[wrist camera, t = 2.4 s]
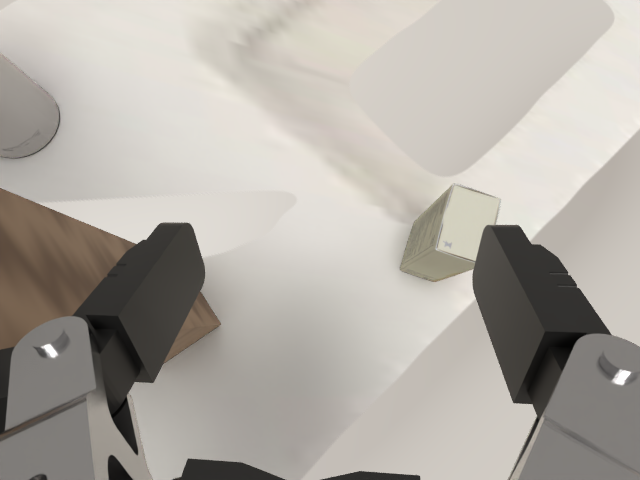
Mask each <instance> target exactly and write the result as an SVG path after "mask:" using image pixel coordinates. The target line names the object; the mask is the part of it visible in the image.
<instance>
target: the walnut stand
mask: <svg viewBox="0 0 640 480" xmlns="http://www.w3.org/2000/svg"><path fill="white" fill-rule="evenodd" d="M135 245H136V244H135V243H132V242H130V241H127V240H125V239H122V238H120V237H118V236H115V235H113V234H110V233H108V232H105V231H103V230H101V229H98V228H96V227H93V226H91V225H89V224H86V223H84V222H81V221H79V220H76V219H74V218H71V217H69V216H66V215H64V214H62V213H59V212H57V211H55V210H52V209H49V208H47V207H45V206H42V205H40V204H37V203H35V202H33V201H30V200H28V199H25V198H23V197H20V196H18V195H16V194H13V193H11V192H8V191H6V190H3V189H1V188H0V350H1V349H6V348H10V347H15V346H16V345H17V343H18V342H19V341H20V340H21V339H22V338H23V337H24V336H25V335H26V334H27V333H29V332H30V331H31V330H33V329H34V328H36V327H38V326H39V325H41V324H43V323H45V322H48V321H50V320H53V319H56V318H60V317H66V316H72V315H73V314H74V313H75V312H76V310H77V309H78V308H79V307H80V306H81V304H82V303H83V302H84V301H85V300H86V299H87V297H88V296H89V295H90V294H91V293H92V291H93V290H94V289H95V288H96V287H97V286H98V284H99V283H100V282H101V281H102V280H103V279H104V277H107V274H108V273H109V271H110V270H111V269H112V268H113V267H114V266H116V263H117V262H118V261H119V260H120V258H121V257H122V256H123V255H124V254H125V253H126V251H127V250H129V249H130V248H132V247H133V246H135ZM220 325H221V323H220V322H219V320H218V319H217V317H216V315H215V314H214V312H213V311H212V309H211V308H210V306H209V304H208V303H207V301H206V300H205V298H204V296H203V295H202V293H201V292H199V294H198V296H197V298H196V300H195V302H194V304H193V306H192V308H191V310H190V312H189V314H188V316H187V318H186V320H185V322H184V324H183V326H182V327H181V329H180V331H179V333H178V335H177V337H176V339H175V341H174V343H173V345H172V347H171V349H170V351H169V353H168V355H167V357H166V359H165V361H164V363H165V362H167V361H168V360H170V359H171V358H173V357H174V356H176V355H177V354H179V353H180V352H181V351H183V350H184V349H186V348H187V347H189V346H190V345H192V344H193V343H195V342H196V341H198V340H199V339H201V338H202V337H203V336H205V335H206V334H208V333H209V332H211V331H212V330H214V329H215V328H217V327H218V326H220ZM164 363H163V364H164Z"/></svg>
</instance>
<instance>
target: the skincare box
mask: <svg viewBox="0 0 640 480" xmlns="http://www.w3.org/2000/svg"><path fill="white" fill-rule="evenodd" d="M500 203H501V199H500V198H497V197H494V196H492V195H489V194H486V193H483V192H480V191H477V190H474V189H472V188H469V187H465V186H462V185H459V184H456V183H454V184H453V185H452V186H451V187H450V188H449V189H448V190H447V191H446V192H444V193H443V194H442V195H441V196H440V197H439V198H438V199H437V200H436V201H435V202H434V203H433V204H432V205H431V206H430V207H429V208H428V209H427V210H426V211H425V212H424V213H423V214H422V215H421V216H420V217H419V218H418V219H417V220H416V221H415V222H414V224H413V227H412V230H411V233H410V236H409V240H408V243H407V246H406V249H405V253H404V256H403V260H402V264H401V267H400V270H401V271H404V272H406V273H409V274H412V275H415V276H418V277H420V278H424V279H427V280H430V281H433V282H437V281H439V280H442V279H445V278H448V277H451V276H455V275H458V274H460V273H463V272H466V271H469V270H472V269H474V266H475V261H476V257H477V253H478V249H479V245H480V241H481V237H482V233H483V230H484V228H485V226H487V225H496V222H497V218H498V213H499V209H500Z"/></svg>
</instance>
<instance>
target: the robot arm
mask: <svg viewBox="0 0 640 480" xmlns="http://www.w3.org/2000/svg"><path fill="white" fill-rule="evenodd" d="M58 123H59V110H58V107H57V104H56V102H55V101H54V99H53V98H52V97H51V96H50V95H49V94H48V93H47V92H46V91H45V90H43V89H42V88H41V87H40V86H39V85H38V84H36V83H35V82H34V81H33V80H32V79H30V78H29V77H28V76H27V75H26V74H25V73H24V72H22V71H21V70H20V69H19V68H18V67H17V66H15V65H14V64H13V63H12V62H11V61H10V60H8V59H7V58H6V57H5V56H4V55H3V54H1V53H0V156H2V157H8V158H19V157H24V156H28V155H30V154H33V153H35V152H37V151H38V150H40V149H41V148H43V147H44V146H45V145H46V144H47V143H48V142H49V141H50V140H51V139H52V137H53V136H54V134H55V132H56V130H57V127H58ZM204 279H205V267H204V263H203V260H202V256H201V253H200V250H199V246H198V243H197V240H196V236H195V233H194V230H193V228H192V226H191V225H190V224H189V223H160V224H159V225H158V226H157V227H156V229H155V230H154V231H153V232H152V234H151V235H150V236H149V237H148V238H147V240H142V241H141V242H139V243H138V244H136V245H135V246H133V247H132V248H130V249H129V250H127V251H126V253H125V254H124V255H123V256H122V257H121V258H120V260H119V261H118V262H117V263H116V266H114V267H113V268H112V269H111V270H110V271H109V273H108V274H107V277H104V279H103V280H102V281H101V282H100V283H99V284H98V286H97V287H96V288H95V289H94V290H93V291H92V293H91V294H90V295H89V296H88V297H87V299H86V300H85V301H84V302H83V303H82V304H81V306H80V307H79V308H78V309H77V310H76V312H75V313H74V314H73V315H72V316H66V317H60V318H56V319H53V320H50V321H48V322H45V323H43V324H41V325H39V326H38V327H36V328H34V329H33V330H31V331H30V332H29V333H27V334H26V335H25V336H24V337H23V338H22V339H21V340H20V341H19V342H18V343H17V345H16V346H15V347H10V348H6V349H1V350H0V480H153V478H152V476H151V474H150V472H149V469H148V466H147V463H146V459H145V454H144V450H143V445H142V441H141V437H140V432H139V428H138V423H137V419H136V414H135V410H134V405H133V401H132V398H131V395H130V394H129V391H130V389H131V387H132V385H133V384H134V382H147V383H153V382H154V381H155V379H156V377H157V375H158V373H159V371H160V369H161V367H162V365H163V363H164V361H165V359H166V357H167V355H168V353H169V351H170V349H171V347H172V345H173V343H174V341H175V339H176V337H177V335H178V333H179V331H180V329H181V327H182V326H183V324H184V322H185V320H186V318H187V316H188V314H189V312H190V310H191V308H192V306H193V304H194V302H195V300H196V298H197V296H198V294H199V292H200V290H201V288H202V286H203V283H204ZM473 290H474V294H475V297H476V300H477V302H478V305H479V308H480V311H481V314H482V317H483V319H484V322H485V325H486V328H487V331H488V333H489V336H490V339H491V342H492V345H493V347H494V350H495V353H496V356H497V359H498V361H499V364H500V367H501V370H502V373H503V375H504V378H505V381H506V384H507V387H508V390H509V392H510V395H511V398H512V401H513V403H522V404H533V407H534V409H535V411H536V414H537V417H536V419H535V421H534V423H533V425H532V427H531V429H530V432H529V434H528V436H527V438H526V440H525V443H524V445H523V447H522V449H521V451H520V454H519V456H518V458H517V460H516V462H515V464H514V467H513V469H512V471H511V474H510V476H509V478H508V480H640V347H639V346H637V345H636V344H634V343H632V342H629V341H627V340H625V339H622V338H619V337H616V336H612V335H611V333H610V332H609V330H608V329H607V327H606V326H605V325H604V323H603V322H602V320H601V319H600V317H599V316H598V314H597V313H596V312H595V310H594V309H593V307H592V306H591V304H590V303H589V301H588V300H587V299H586V297H585V296H584V294H583V293H582V291H581V290H580V289H579V288H577V284H576V283H575V281H574V280H573V279H572V277H571V276H570V275H568V271H567V270H566V269H565V267H564V266H563V264H562V263H561V262H560V260H559V258H558V257H556V256H555V255H554V254H552V253H551V252H550V251H548V250H547V249H546V248H544V247H543V246H541V245H532V244H531V243H530V241H529V240H528V238H527V237H526V235H525V233H524V232H523V230H522V229H521V227H520V226H518V225H487V226H485V228H484V230H483V233H482V237H481V241H480V245H479V249H478V253H477V257H476V261H475V266H474V270H473ZM173 480H285V479H282V478H280V477H277V476H275V475H272V474H270V473H267V472H265V471H262V470H259V469H257V468H254V467H252V466H249V465H247V464H244V463H240V462H227V461H213V460H199V459H188V460H187V462H186V465H185V468H184V471H183V474H182V476H181V477H179V478H176V479H173ZM322 480H420V476H418V475H404V474H389V473H377V472H362V471H359V472H354V473H350V474H345V475H340V476H336V477H331V478H327V479H322Z"/></svg>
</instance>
